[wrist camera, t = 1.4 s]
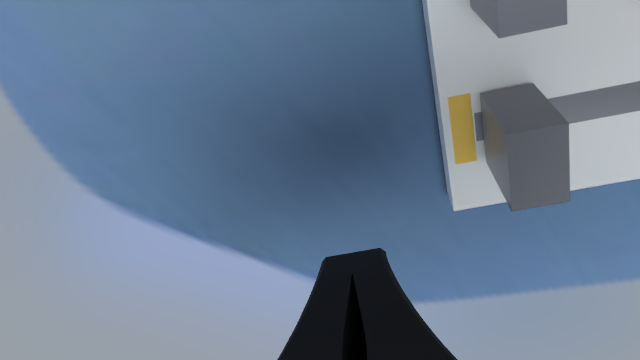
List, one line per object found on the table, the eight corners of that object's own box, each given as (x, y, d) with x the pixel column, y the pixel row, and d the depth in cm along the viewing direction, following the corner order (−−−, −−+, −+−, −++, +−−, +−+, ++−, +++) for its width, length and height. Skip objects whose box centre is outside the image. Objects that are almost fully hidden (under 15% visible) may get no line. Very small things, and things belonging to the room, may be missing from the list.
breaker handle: (533, 82, 18) (568, 123, 15) (536, 152, 19) (570, 201, 16) (479, 93, 18) (506, 135, 15) (486, 162, 19) (511, 211, 17)
